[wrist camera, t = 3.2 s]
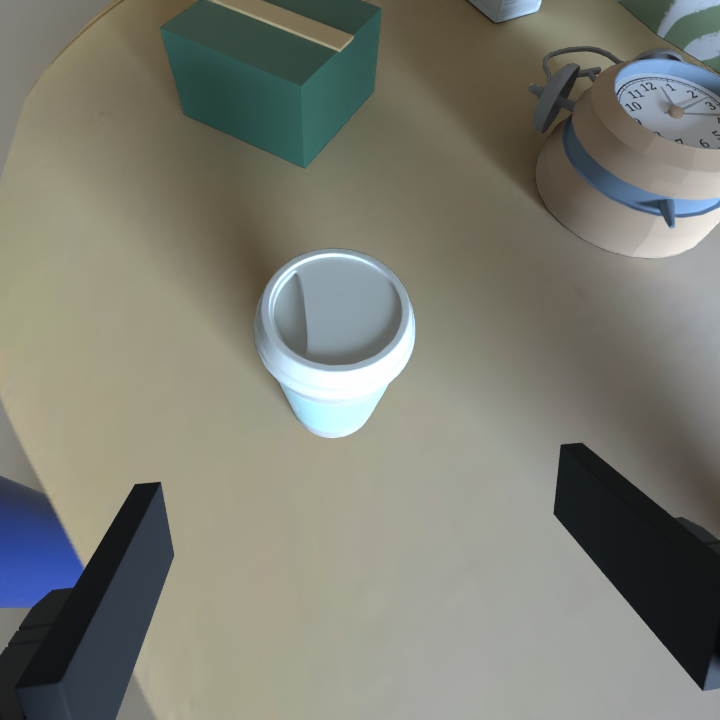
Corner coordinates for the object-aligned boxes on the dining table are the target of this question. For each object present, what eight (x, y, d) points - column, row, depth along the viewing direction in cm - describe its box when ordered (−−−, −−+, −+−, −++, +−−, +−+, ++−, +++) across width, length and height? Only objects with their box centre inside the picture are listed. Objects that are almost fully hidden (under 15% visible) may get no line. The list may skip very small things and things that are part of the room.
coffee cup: (306, 331, 37) (299, 218, 26) (409, 374, 36) (445, 275, 25) (249, 426, 33) (214, 339, 22) (362, 478, 32) (381, 413, 21)
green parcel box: (182, 113, 47) (156, 23, 40) (262, 46, 53) (252, -43, 46) (306, 169, 45) (303, 84, 38) (375, 92, 51) (384, 5, 44)
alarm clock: (666, 198, 33) (506, 16, 42) (597, 280, 41) (476, 112, 51) (843, 152, 37) (659, -7, 46) (748, 235, 45) (609, 86, 54)
